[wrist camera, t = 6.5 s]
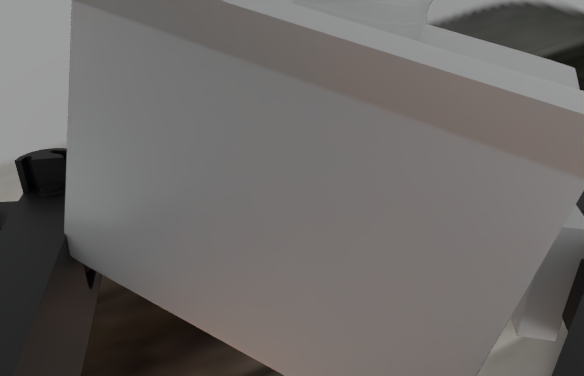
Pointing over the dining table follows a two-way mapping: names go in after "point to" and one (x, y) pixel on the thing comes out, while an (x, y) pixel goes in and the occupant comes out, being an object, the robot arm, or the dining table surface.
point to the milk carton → (318, 176)
